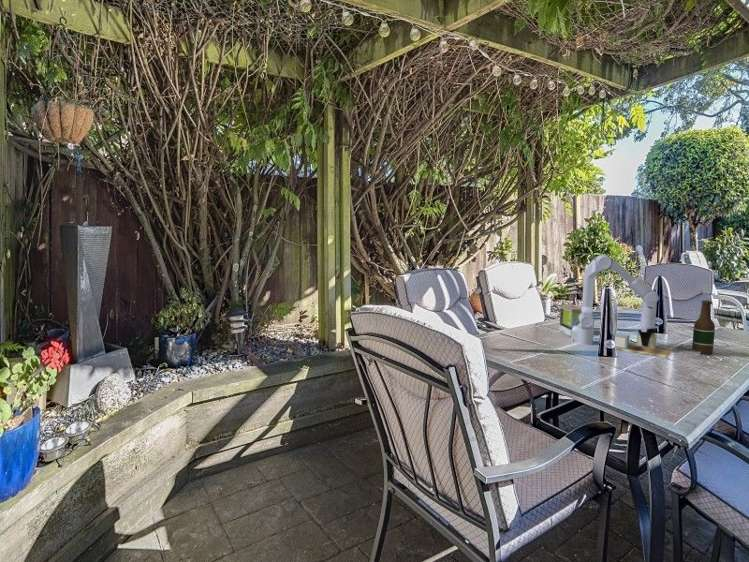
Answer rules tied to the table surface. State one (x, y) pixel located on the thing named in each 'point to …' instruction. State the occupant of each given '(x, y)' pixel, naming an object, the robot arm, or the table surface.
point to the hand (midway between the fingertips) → (646, 344)
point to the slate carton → (622, 341)
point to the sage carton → (651, 341)
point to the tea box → (569, 318)
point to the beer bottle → (704, 330)
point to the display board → (647, 350)
